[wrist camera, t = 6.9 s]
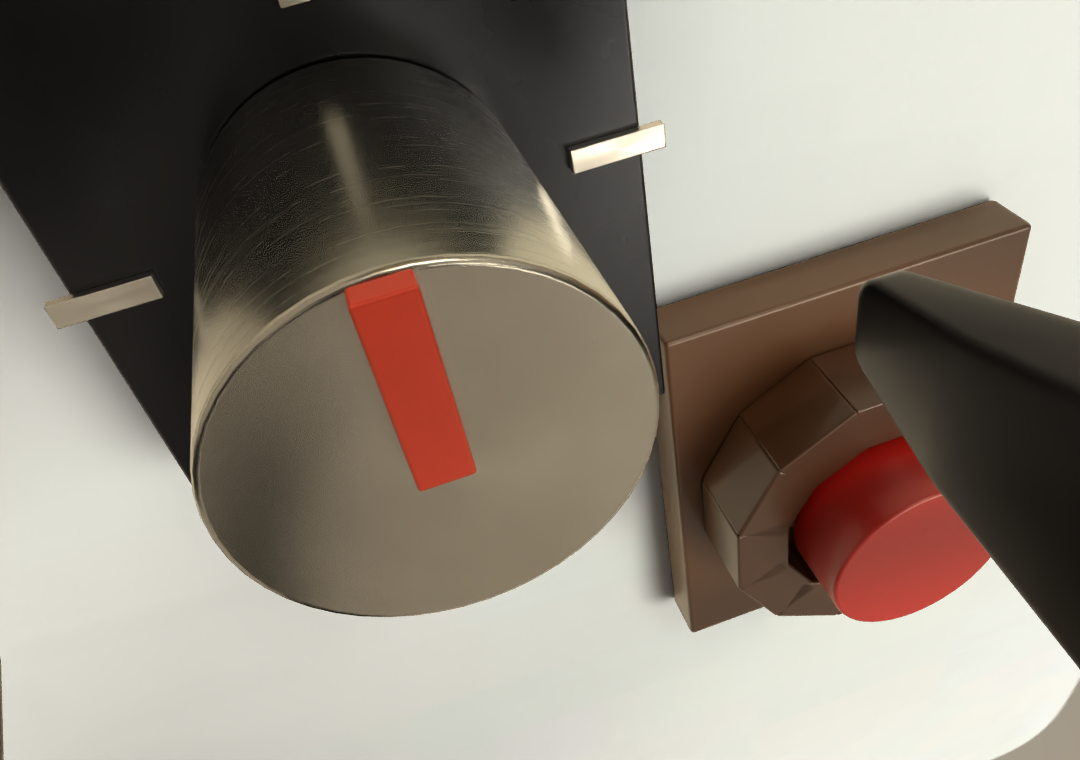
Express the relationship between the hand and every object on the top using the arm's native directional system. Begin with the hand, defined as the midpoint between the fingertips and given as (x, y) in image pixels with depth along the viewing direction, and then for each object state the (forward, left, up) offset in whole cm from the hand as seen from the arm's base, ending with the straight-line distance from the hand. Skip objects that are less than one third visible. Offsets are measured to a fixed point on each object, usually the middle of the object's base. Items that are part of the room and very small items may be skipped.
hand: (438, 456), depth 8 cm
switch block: (-10, -9, -7) cm, 15 cm away
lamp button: (-10, -8, -5) cm, 14 cm away
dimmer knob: (0, 0, -5) cm, 5 cm away
